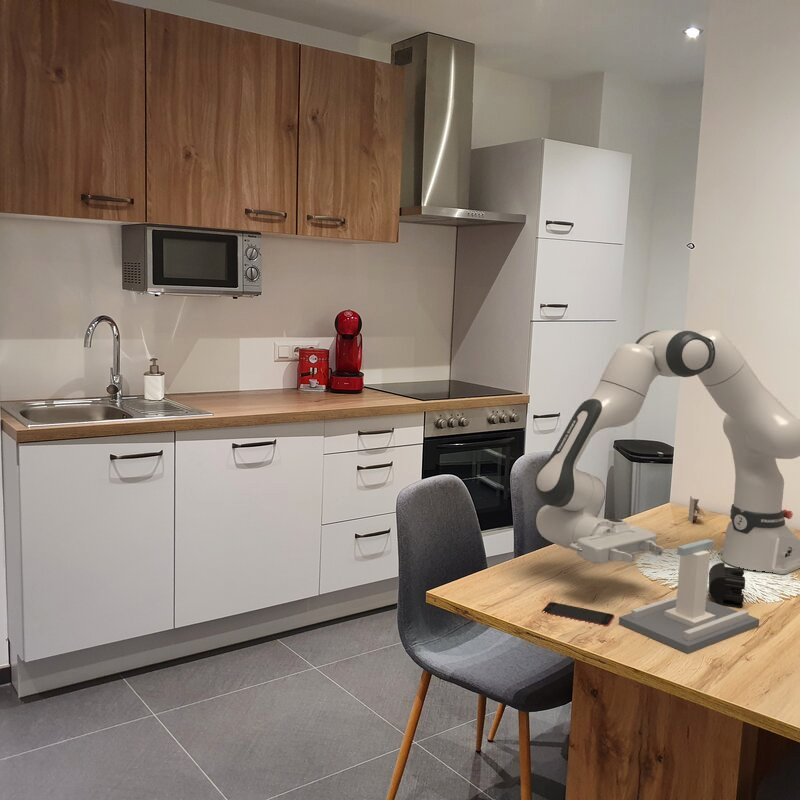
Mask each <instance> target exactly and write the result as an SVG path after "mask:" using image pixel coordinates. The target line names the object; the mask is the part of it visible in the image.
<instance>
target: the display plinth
mask: <svg viewBox="0 0 800 800" xmlns="http://www.w3.org/2000/svg"><path fill="white" fill-rule="evenodd" d="M676 600H677V595H675V596H671V597H669V598H665V599H662V600H658V601H656V602H652V603H649V604H645V605H643V606H640V607H637V608H633V609H631V612H630V613H627V614H625V615H622V616H619V617H618V625H620V626H622V627H625V628H627V629H629V630H632V631H634V632H636V631H637V633H639V634H641V635H644V636H646V637H647V638H650V639H652V640H655V641H657V642H660V643H662V644H664V645H666V646H669V647H671V648H674V649H676V650H677V651H681V652H682V653H685V654H691V653H694V652H697V651H698V650H700V649H701V650H702V649H703V648H705V647H708V646H712V645H714V644H716V643H719V642H721V641H724V640H726V639H729V638H731V637H734V636H737V635H740V634H741V633H745V632H748V631H750V630H752V629H755V628H757V627H758V628H759V626H760V618H758V617H756V616H752V615H749V614H750V613H749V612H750V611H748V610H745V609H742V610H740V611H739V610H736V609H734V608H732V607H728V606H722V605H720V604H718V603H717V602H714V601H710V600H709V599H706V605H705V612H708V613H711V614H713V615H716V617H715V620H714V621H711V622H708V623H706V624H703V625H700V626H697V627H695V628H694V627H691V626H689V625H686V624H684V623H681V622H679V621H677V620H674V619H672V618H669V617H667V616H664V613H665V611H666V610H669V609H672V608H675V607H676Z"/></svg>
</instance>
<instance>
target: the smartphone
mask: <svg viewBox="0 0 800 800" xmlns="http://www.w3.org/2000/svg"><path fill="white" fill-rule="evenodd" d="M543 611H545V612H544V613H546V612H547V614H546V615H548V614H550V615H549V616H553V615H555V616H554V617H557V616H560V617H559V618H562V617H565V618H564V619H567V618H570V619H569V620H572V619H574V620H573V621H576V620H578V622H581V621H585V622H584V623H586V622H588V623H587V624H590V623H594V624H593V625H595V624H598V625H597V626H600V625H603V626H602V627H609V626H610V625H611V624H612V622H613V621H614V619H615V617H616V616H615V614H614V613H613V614H612V613H610V612H604V611H598V610H594V609H590V608H586V607H585V608H584V607H579V606H575V605H569V604H564V603H559V602H554V601H549V602H548V603H547V604H546V605H545V606H544V608H543V609H542V610H541V613H542V612H543ZM544 613H543V614H544Z"/></svg>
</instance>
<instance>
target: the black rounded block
mask: <svg viewBox="0 0 800 800" xmlns="http://www.w3.org/2000/svg"><path fill="white" fill-rule="evenodd" d="M725 565H726V564H725V563H724V562H719V563H715V564H713V565H712V567H711V568H710V569H709V571H708V592H709V595H710V597H711V599H713V600H714V601H715V603H717V604H720V605H722V606H725V607H728V608H735V609H736V608H737V609H743V608H744V605H743V604H744V602H745V601H744V600H745V599H744V598H745V595H744V594H743V590H744V591H745V589H746V578H745V576H744V574H745V569H743V568H739V567H729V566H725Z"/></svg>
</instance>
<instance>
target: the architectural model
mask: <svg viewBox="0 0 800 800" xmlns="http://www.w3.org/2000/svg"><path fill="white" fill-rule="evenodd" d="M689 498H690V499H689V509H688V519H687V520H688V521H689V523H690V524H691V525H693V522H696V521H697V518H698V517H706V516H707V515H706V513H705V512H704V511H703V509H701V508H700V507H699V506H698V503H699V501H700V499H699V498H693V497H692V496H691V495H690V497H689Z"/></svg>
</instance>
